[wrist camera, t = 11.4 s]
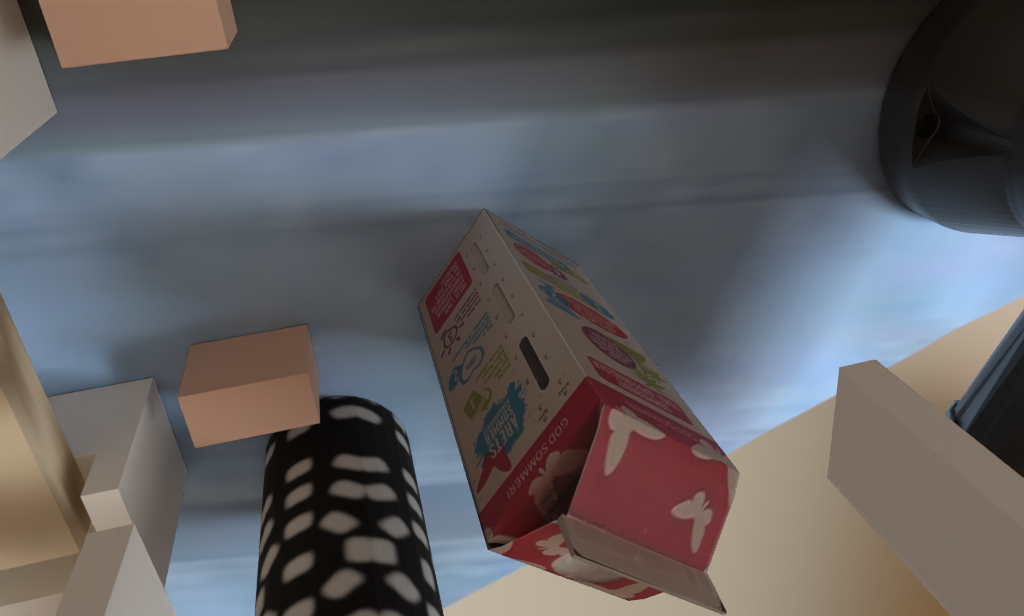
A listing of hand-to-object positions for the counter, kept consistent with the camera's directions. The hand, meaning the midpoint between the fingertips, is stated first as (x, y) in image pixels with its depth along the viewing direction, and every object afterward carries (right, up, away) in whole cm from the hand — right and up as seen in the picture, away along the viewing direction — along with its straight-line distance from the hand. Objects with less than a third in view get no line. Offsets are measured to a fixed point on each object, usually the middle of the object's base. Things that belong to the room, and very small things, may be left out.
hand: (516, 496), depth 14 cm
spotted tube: (-10, -5, +31) cm, 33 cm away
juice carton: (-1, +5, +29) cm, 29 cm away
